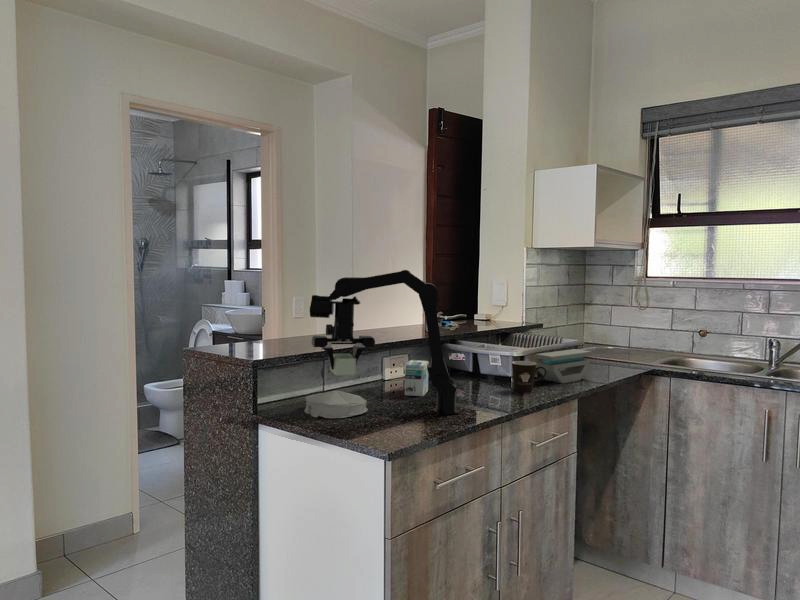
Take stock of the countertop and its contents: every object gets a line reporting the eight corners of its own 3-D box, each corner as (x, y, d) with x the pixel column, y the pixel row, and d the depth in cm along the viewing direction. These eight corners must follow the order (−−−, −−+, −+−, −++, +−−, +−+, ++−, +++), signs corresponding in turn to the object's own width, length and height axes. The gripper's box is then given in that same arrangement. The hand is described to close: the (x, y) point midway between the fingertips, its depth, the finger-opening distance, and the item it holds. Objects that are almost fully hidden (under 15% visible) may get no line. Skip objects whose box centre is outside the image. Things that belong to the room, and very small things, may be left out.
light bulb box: (423, 396, 212) (424, 365, 211) (404, 395, 213) (404, 364, 213) (428, 390, 222) (429, 360, 222) (409, 389, 224) (410, 359, 223)
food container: (291, 410, 193) (291, 388, 192) (346, 400, 205) (346, 380, 205) (324, 425, 177) (324, 402, 177) (381, 414, 189) (381, 392, 189)
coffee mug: (507, 391, 223) (508, 363, 222) (515, 387, 231) (516, 360, 230) (540, 395, 218) (541, 366, 217) (546, 390, 225) (547, 363, 224)
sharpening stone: (574, 375, 256) (575, 349, 255) (590, 378, 250) (591, 351, 249) (534, 382, 241) (535, 354, 240) (551, 385, 235) (552, 356, 234)
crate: (355, 375, 188) (356, 358, 188) (335, 375, 186) (335, 359, 186) (349, 369, 197) (349, 353, 197) (329, 369, 195) (330, 353, 195)
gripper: (367, 316, 201) (365, 364, 202) (309, 315, 195) (308, 365, 196) (376, 319, 190) (374, 370, 191) (315, 319, 185) (313, 371, 186)
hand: (342, 369), depth 191 cm, fingers closed on crate, 6 cm apart
